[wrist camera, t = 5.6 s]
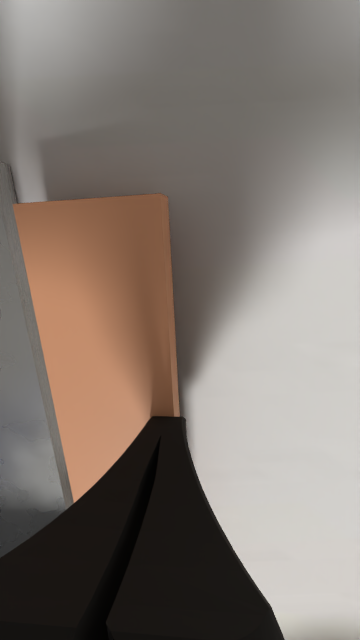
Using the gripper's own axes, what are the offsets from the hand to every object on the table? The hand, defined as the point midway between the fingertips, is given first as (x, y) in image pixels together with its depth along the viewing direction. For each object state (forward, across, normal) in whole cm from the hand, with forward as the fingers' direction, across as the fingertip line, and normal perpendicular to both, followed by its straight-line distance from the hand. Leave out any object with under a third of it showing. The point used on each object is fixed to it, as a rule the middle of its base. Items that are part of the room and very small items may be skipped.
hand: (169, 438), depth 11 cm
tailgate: (+1, +5, 0) cm, 5 cm away
